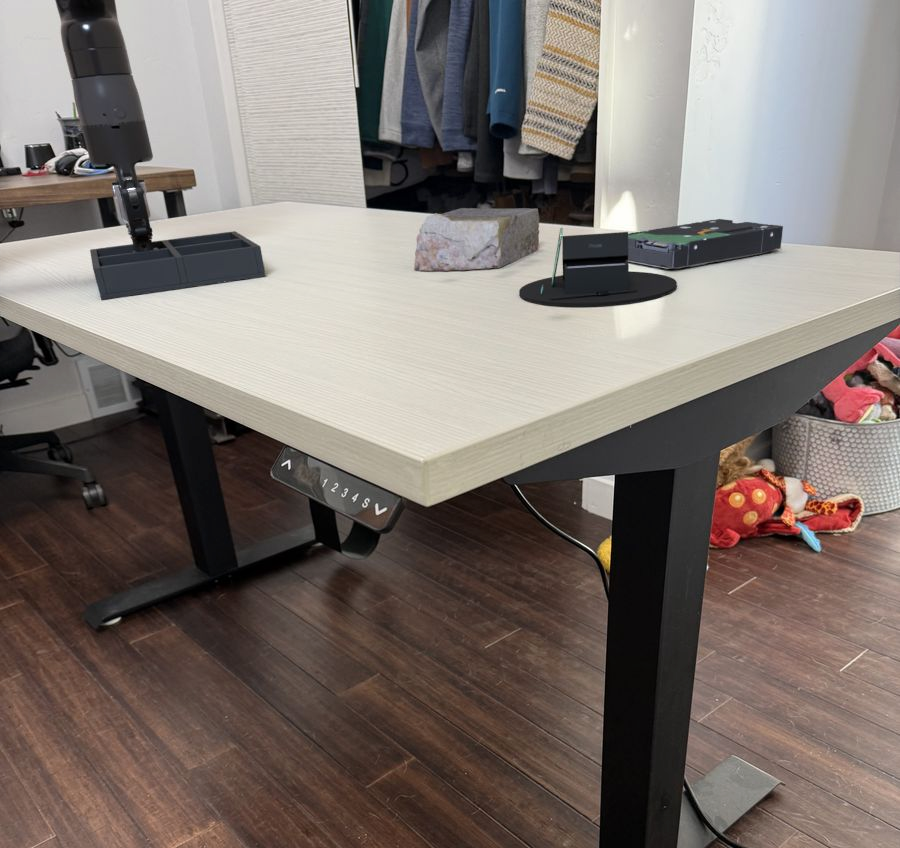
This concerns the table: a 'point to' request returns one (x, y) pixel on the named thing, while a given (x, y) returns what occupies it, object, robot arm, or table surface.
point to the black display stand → (596, 275)
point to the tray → (176, 264)
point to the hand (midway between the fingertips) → (148, 268)
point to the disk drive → (702, 243)
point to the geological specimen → (476, 238)
